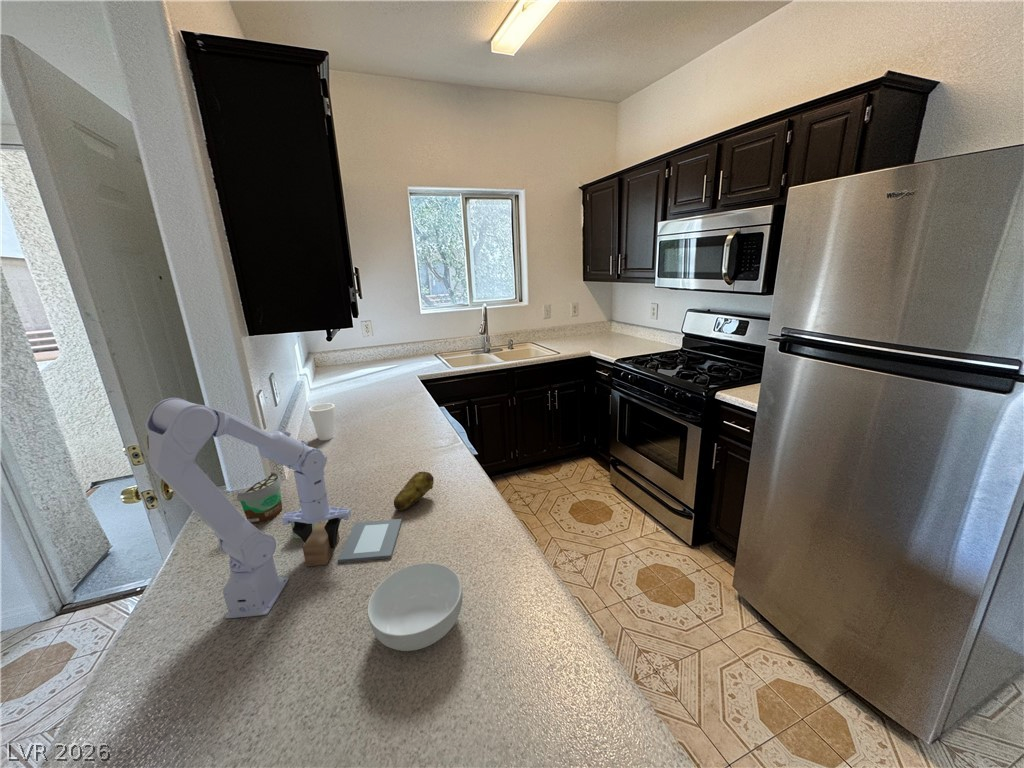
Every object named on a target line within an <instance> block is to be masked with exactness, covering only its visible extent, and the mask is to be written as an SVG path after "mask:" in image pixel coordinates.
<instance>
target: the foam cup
mask: <svg viewBox="0 0 1024 768" xmlns="http://www.w3.org/2000/svg"><path fill="white" fill-rule="evenodd" d="M308 411H309V412H308V413H309V416H310V418H311V421H312V424H313V427H314V429H315V433H316V435H317V438H318V440H319V441H329V440H332V439H335V437H336V407H335V404H334V403H328V402H326V403H325V402H324V403H320V404H319V403H318V404H314V405H312V406H311V407H309V408H308Z"/></svg>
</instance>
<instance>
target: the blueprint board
mask: <svg viewBox="0 0 1024 768" xmlns="http://www.w3.org/2000/svg"><path fill="white" fill-rule="evenodd" d="M402 524H403V518H397V519H396V518H395V519H385V520H384V519H383V520H382V519H381V520H373V521H372V520H370V521H369V520H368V521H360V522H359V521H357V522H354V524H353V526H352V529H351V531H350V533H349V534H348V537H347V539H346V541H345V543H344V546H343V548H342V550H341V552H340V554H339V556H338V558H337V562H338V563H351V562H363V561H373V560H375V561H376V560H386V559H392V557H393V553H394V551H395V547H396V543H397V541H398V536H399V533H400V530H401V527H402Z"/></svg>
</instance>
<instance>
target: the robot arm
mask: <svg viewBox="0 0 1024 768" xmlns="http://www.w3.org/2000/svg"><path fill="white" fill-rule="evenodd" d="M144 427H145V430H146V433H147V435H148V457H149V466H150V467H151V469H152V470H153V471H154V472H155V473H156V475H158V476H159V477H160V478H161V480H162V481H164V483H165V484H167V486H168V487H170V488H171V489H172V491H173V492H174V493H175V494H177V496H178V497H180V499H181V500H182V501H183V502H185V504H186V505H188V507H189V508H190V509H191V510H192V511H193V512H194V513H195V514H196V515H197V516H198V517H199V518H200V519H201V520H202V521H203V522H204V523H205V524H206V525H207V526H208V527H209V528H211V530H212V531H213V532H214V533H213V535H214V536H215V538H216V539H217V540H218V546H219V547H218V548H219V549H220V551H221V552H222V553H224V554H226V555H228V556H229V572H230V574H229V577H228V580H227V582H226V584H225V586H224V587H223V591H222V593H223V597H224V601H225V605H226V607H227V612H226V614H225V615H224V618H225V619H234V618H246V617H256V616H266V615H268V614H269V613H270V612H271V609H272V608H273V606H274V604H275V602H276V601H277V600H278V598H279V596H280V594H281V593H282V591H283V590H284V588H285V586H286V584H287V583H288V582H289V577H279V575H278V572H277V567H276V563H275V558H274V554H275V552H276V549H277V541H276V539H275V537H273V536H272V535H271V534H267V533H265V532H263V531H261V530H260V529H259V528H257V527H256V525H255V524H251V523H250V522H249V521H248V520H247V518H246V517H245V516H244V515H243V514H242V513H241V512H240V511H239V510H238V509H237V507H236V506H235V505H234V504H233V503H232V502H231V501H230V500H229V499H228V498H227V496H226V495H225V494H224V493H223V492H222V491H221V490H220V489H219V488H218V486H217V485H216V484H215V483H214V482H213V481H212V480H211V479H210V477H209V476H208V475H207V474H206V473H205V472H204V471H203V469H202V468H201V467H200V466H199V465H198V464H197V463H196V462H195V460H196V457H197V455H198V454H199V452H200V450H201V449H202V448H203V447H204V446H205V444H206V443H207V442H208V440H209V439H210V438H211V437H214V438H219V437H221V436H222V437H223V436H224V435H227V436H230V437H232V438H235V439H238V440H239V441H243V442H245V443H248V444H250V445H253V446H255V447H257V449H258V453H259V455H260V457H263V458H265V459H267V460H270V461H272V462H275V463H277V464H279V465H282V466H284V467H287V468H288V469H289V470H290V469H292V470H293V476H294V480H295V485H296V490H297V491H296V492H297V495H298V501H299V505H300V508H301V510H299V509H298V510H296V511H290V512H285V513H284V515H283V516H282V517H281V520H282V524H283V526H285V525H289V524H291V523H294V524H295V525H294V527H293V531H292V533H293V532H294V533H295V534H297V535H298V536H299V537H300V538H299V539H301V540H302V542H303V543H304V544H305V542H306V541H307V539H308V538H309V536H310V534H311V533H312V531H313V529H312V524H313V523H318V522H321V523H323V522H327V523H326V525H325V527H324V529H325V530H326V532H327V535H328V537H329V543H330V547H331V549H332V548H335V549H336V547H337V545H338V543H337V533H338V532H339V528H340V523H341V520H344V521H349V520H350V518H351V516H352V513H351V508H350V507H338V506H332V505H331V506H330V503H329V498H328V491H327V486H326V485H327V484H326V480H325V467H326V465H327V461H328V456H325V454H324V452H323V451H322V450H321V449H318V448H315V447H312V446H309V445H308V444H309V443H308V442H307V441H306V440H303V439H302V440H298V439H296V438H294V437H293V436H291V434H292V433H291V432H289V431H286V430H281V431H280V430H273V431H271V432H270V431H269V432H267V431H265V430H262V429H260V428H258V427H257V426H255V425H253V424H251V423H249V422H247V421H245V420H244V419H241V418H240V417H237V416H236V415H233V414H231V413H229V412H225V411H222V410H219V409H215V408H212V407H209V406H207V405H205V404H204V405H203V404H198V403H194V402H190V401H188V400H186V399H183V398H180V397H169V398H166V399H162V400H161V401H159V402H157V403H156V404H155V405H154V406H153V408H151V411H150V413H149V414H148V417H147V419H146V421H145V424H144ZM336 544H337V545H336ZM335 546H336V547H335Z"/></svg>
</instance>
